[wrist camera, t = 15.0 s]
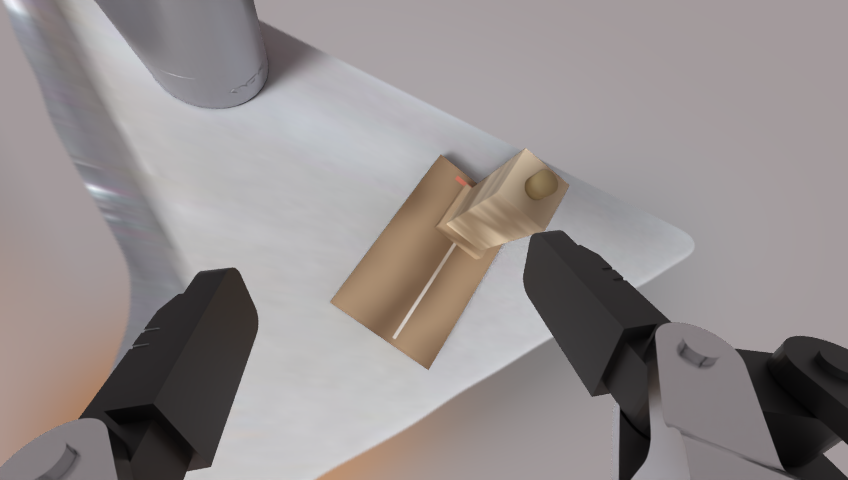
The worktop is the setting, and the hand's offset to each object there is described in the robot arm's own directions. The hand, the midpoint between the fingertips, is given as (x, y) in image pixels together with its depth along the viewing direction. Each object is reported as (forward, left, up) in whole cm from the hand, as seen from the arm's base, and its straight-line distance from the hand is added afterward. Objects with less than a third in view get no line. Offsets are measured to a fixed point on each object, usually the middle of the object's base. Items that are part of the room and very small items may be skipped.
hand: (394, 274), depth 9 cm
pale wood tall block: (+5, +11, -18) cm, 22 cm away
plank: (+4, +7, -20) cm, 22 cm away
